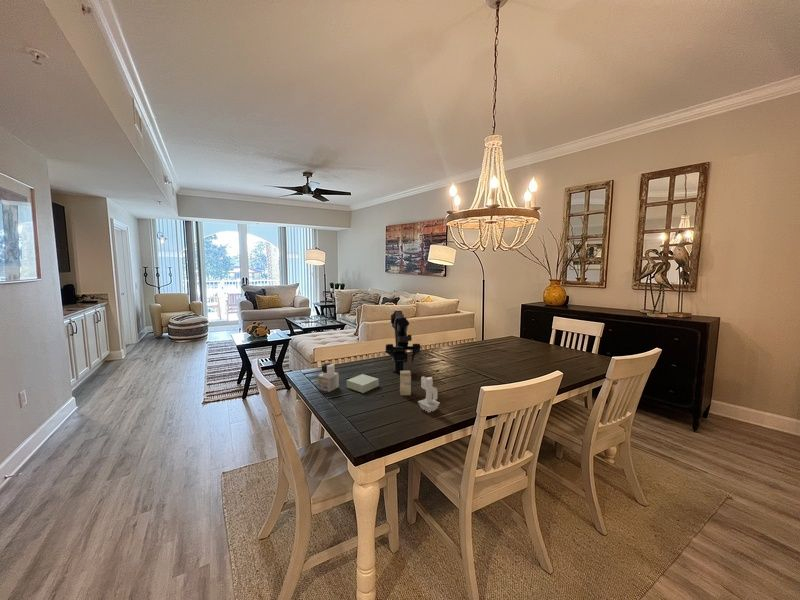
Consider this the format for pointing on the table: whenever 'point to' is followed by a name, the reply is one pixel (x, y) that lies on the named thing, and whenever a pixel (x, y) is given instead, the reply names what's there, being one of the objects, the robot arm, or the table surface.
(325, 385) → the container
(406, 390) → the maple block
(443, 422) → the table surface
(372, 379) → the sage base block
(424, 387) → the figurine
